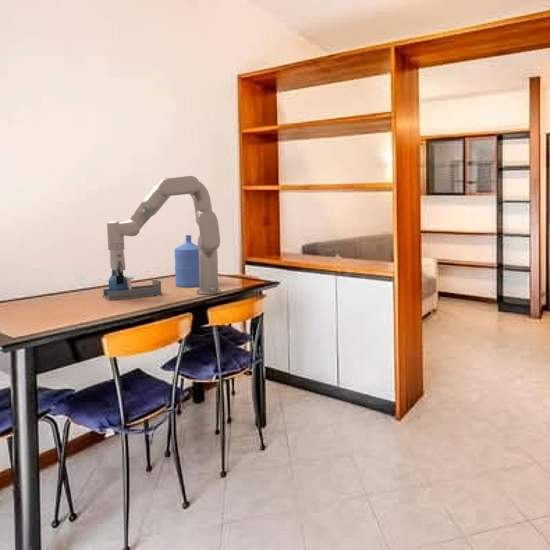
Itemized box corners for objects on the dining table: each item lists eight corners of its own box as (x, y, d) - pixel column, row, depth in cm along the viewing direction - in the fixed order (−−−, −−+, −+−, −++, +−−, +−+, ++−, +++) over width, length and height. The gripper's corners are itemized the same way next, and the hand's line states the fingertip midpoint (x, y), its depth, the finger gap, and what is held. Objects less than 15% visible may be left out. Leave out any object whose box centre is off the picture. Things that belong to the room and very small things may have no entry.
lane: (161, 295, 260) (161, 281, 259) (109, 300, 247) (108, 286, 246) (154, 291, 270) (153, 278, 269) (102, 296, 257) (102, 282, 256)
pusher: (134, 294, 255) (133, 277, 254) (129, 295, 254) (128, 278, 253) (130, 292, 261) (129, 275, 260) (125, 292, 260) (124, 276, 259)
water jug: (201, 287, 283) (200, 236, 280) (172, 287, 284) (171, 236, 280) (205, 283, 299) (204, 234, 295) (178, 283, 299) (177, 234, 295)
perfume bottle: (116, 294, 250) (115, 269, 249) (109, 292, 254) (107, 268, 252) (127, 292, 255) (126, 268, 253) (119, 291, 259) (118, 267, 257)
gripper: (129, 247, 246) (130, 284, 249) (119, 245, 261) (120, 279, 263) (113, 248, 242) (114, 285, 245) (103, 245, 257) (105, 281, 259)
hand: (117, 282), depth 254 cm, fingers closed on perfume bottle, 7 cm apart
